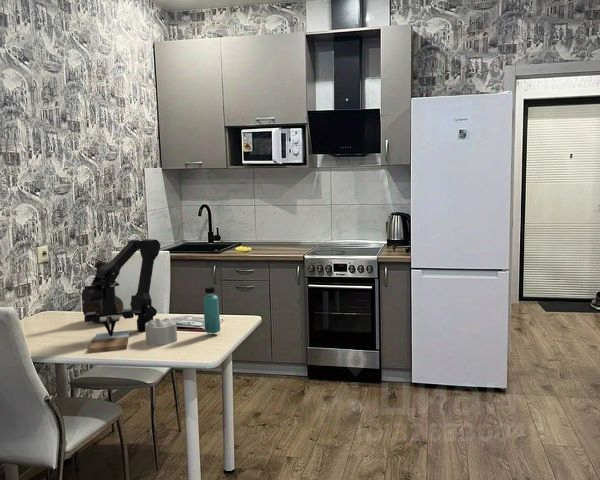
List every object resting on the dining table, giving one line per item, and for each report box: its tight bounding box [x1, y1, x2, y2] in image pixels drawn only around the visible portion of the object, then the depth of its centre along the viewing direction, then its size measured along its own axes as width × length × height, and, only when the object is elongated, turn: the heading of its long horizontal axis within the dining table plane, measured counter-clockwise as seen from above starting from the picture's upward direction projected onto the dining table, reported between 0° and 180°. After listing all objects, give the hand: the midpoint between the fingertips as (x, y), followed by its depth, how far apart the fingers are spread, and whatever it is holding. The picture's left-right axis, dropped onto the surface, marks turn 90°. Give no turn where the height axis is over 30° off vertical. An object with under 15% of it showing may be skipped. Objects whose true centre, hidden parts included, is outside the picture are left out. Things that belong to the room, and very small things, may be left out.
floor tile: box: [93, 330, 130, 340], centre depth 239 cm, size 13×10×2 cm
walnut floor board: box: [88, 337, 129, 354], centre depth 228 cm, size 14×12×2 cm
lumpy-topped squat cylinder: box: [144, 317, 178, 347], centre depth 233 cm, size 10×13×9 cm
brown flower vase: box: [82, 261, 125, 325], centre depth 267 cm, size 18×18×28 cm
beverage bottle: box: [202, 286, 221, 334], centre depth 238 cm, size 6×7×20 cm
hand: (111, 335), depth 236 cm, fingers closed
